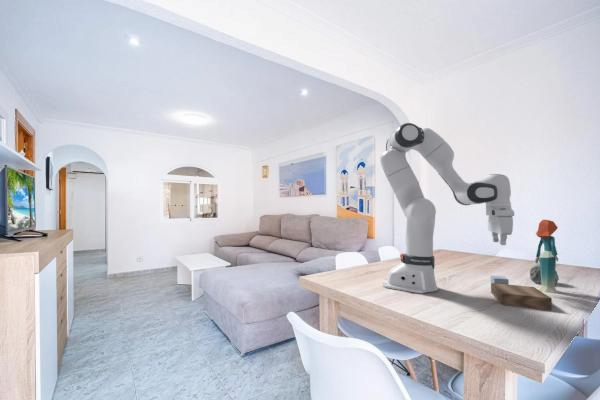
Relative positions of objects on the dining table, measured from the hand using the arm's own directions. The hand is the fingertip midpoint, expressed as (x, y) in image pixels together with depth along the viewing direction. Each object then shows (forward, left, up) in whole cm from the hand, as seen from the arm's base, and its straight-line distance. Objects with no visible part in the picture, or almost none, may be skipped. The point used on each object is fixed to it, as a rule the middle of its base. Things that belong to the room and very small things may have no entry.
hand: (499, 243), depth 115 cm
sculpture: (+18, +5, -20) cm, 27 cm away
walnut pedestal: (+2, -15, -20) cm, 25 cm away
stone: (+22, +19, -20) cm, 35 cm away
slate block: (0, 0, -20) cm, 20 cm away
